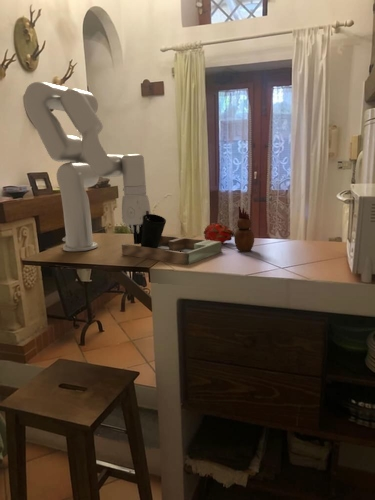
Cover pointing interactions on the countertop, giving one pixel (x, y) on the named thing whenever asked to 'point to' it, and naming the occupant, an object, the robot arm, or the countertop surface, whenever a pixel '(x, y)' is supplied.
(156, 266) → the countertop surface
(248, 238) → the wooden figurine
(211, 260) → the countertop surface
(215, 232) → the dragon fruit
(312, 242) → the countertop surface
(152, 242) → the cup
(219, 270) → the countertop surface
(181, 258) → the open wooden tray box
